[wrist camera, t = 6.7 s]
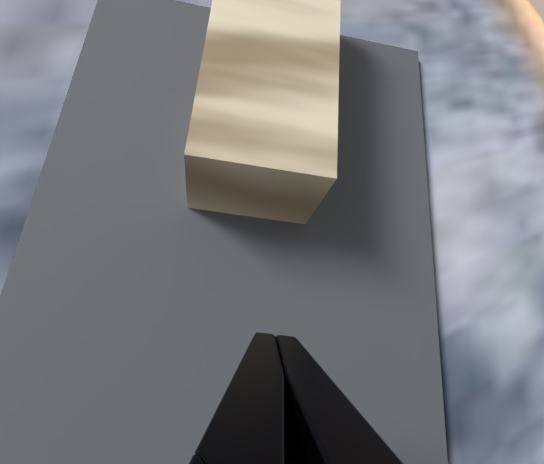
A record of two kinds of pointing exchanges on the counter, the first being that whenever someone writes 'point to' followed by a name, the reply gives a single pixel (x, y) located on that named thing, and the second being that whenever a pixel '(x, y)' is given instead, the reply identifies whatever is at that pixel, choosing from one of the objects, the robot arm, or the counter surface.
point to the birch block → (265, 109)
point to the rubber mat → (211, 261)
